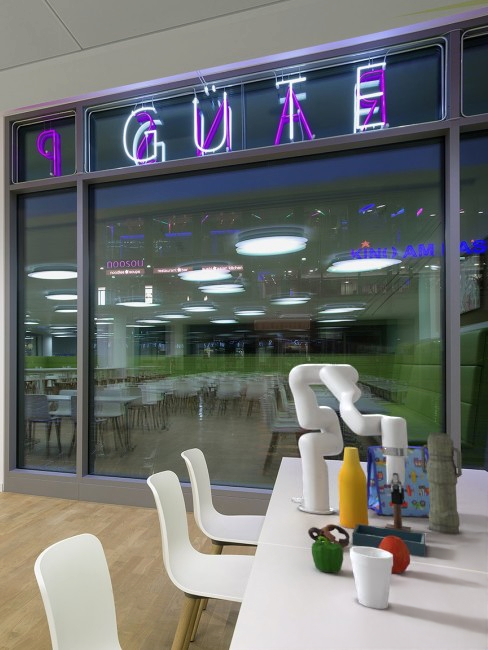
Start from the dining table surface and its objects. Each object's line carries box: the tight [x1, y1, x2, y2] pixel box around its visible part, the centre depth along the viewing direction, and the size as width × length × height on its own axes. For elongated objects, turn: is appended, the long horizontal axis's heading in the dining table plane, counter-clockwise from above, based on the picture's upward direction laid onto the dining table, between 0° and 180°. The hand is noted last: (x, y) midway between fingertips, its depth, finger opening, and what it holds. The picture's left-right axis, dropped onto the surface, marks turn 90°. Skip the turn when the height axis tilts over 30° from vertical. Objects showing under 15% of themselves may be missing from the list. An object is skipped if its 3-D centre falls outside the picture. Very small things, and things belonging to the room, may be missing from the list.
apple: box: [378, 535, 411, 574], centre depth 178 cm, size 8×8×11 cm
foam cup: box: [349, 546, 393, 610], centre depth 155 cm, size 10×9×13 cm
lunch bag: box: [366, 445, 430, 518], centre depth 244 cm, size 22×14×29 cm, turn 80°
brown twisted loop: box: [307, 523, 350, 549], centre depth 200 cm, size 12×10×8 cm
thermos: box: [421, 432, 463, 535], centre depth 220 cm, size 9×12×35 cm
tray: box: [352, 524, 427, 558], centre depth 202 cm, size 20×14×4 cm
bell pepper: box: [311, 536, 344, 574], centre depth 179 cm, size 8×8×10 cm
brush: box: [384, 504, 412, 532], centre depth 211 cm, size 7×5×12 cm
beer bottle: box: [337, 446, 370, 530], centre depth 225 cm, size 9×9×29 cm
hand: (398, 501), depth 211 cm, fingers open, 9 cm apart
